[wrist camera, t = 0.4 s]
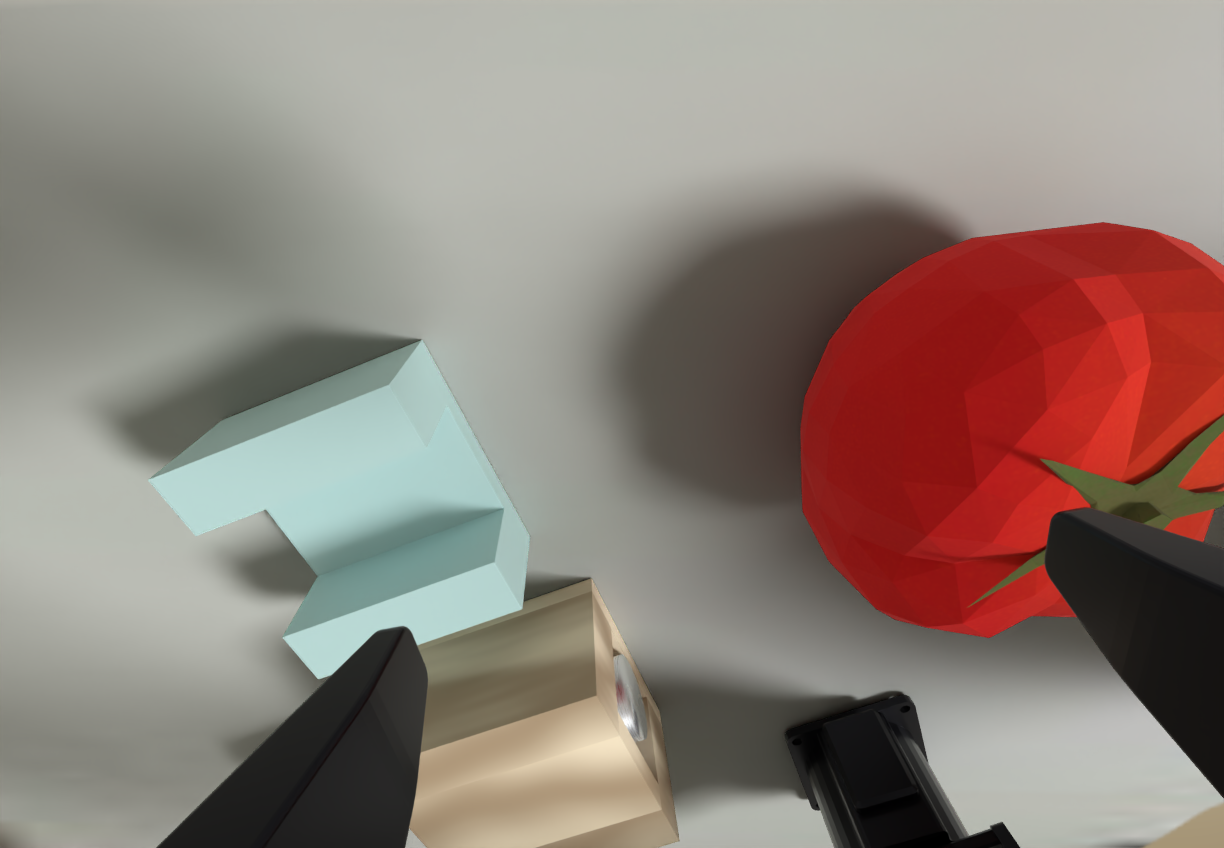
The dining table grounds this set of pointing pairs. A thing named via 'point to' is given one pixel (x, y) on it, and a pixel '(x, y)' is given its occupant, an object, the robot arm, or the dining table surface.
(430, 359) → the cradle
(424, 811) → the open beige box
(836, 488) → the tomato
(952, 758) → the dining table surface
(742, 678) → the dining table surface
